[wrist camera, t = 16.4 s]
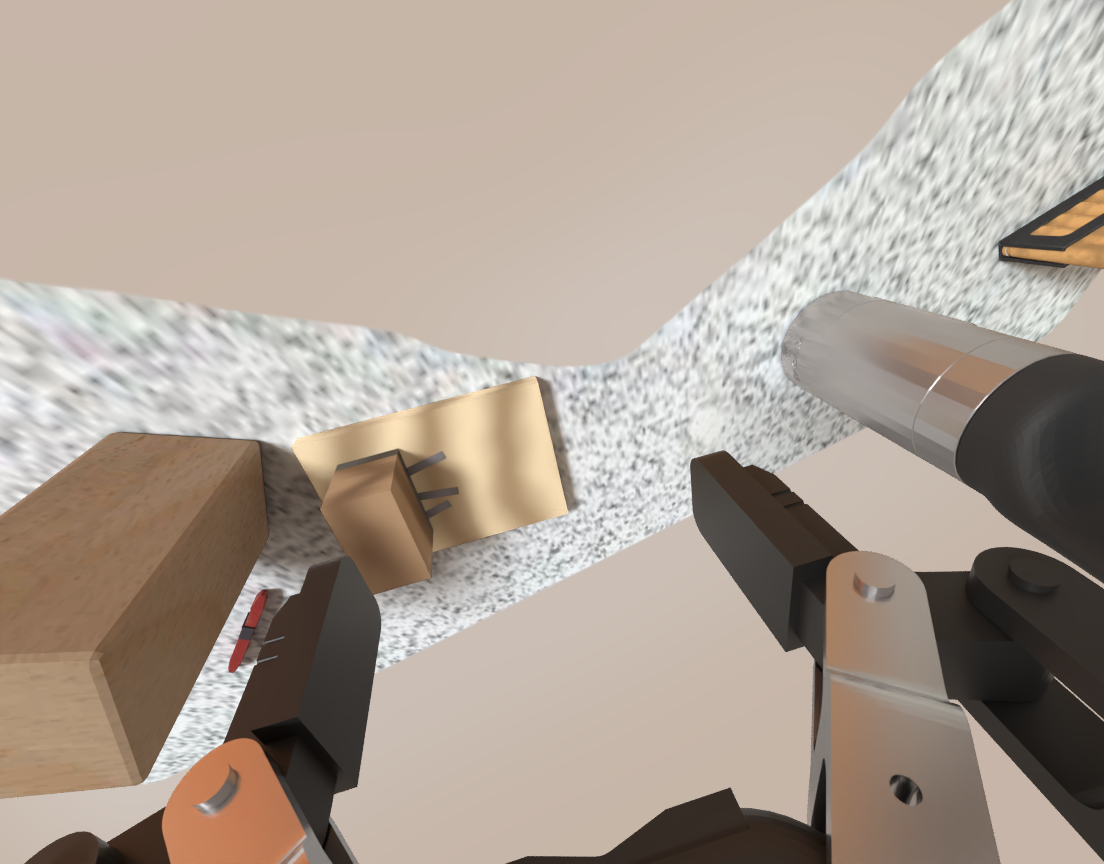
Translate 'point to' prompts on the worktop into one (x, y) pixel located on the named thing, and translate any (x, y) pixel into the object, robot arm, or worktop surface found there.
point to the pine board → (459, 460)
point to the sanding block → (380, 521)
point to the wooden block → (118, 603)
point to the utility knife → (248, 630)
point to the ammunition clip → (1062, 233)
